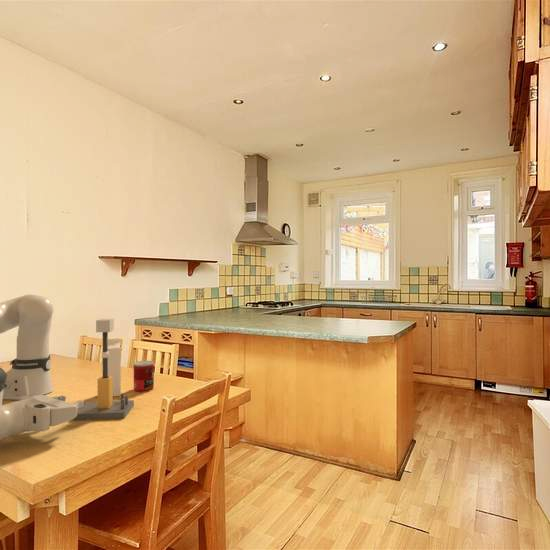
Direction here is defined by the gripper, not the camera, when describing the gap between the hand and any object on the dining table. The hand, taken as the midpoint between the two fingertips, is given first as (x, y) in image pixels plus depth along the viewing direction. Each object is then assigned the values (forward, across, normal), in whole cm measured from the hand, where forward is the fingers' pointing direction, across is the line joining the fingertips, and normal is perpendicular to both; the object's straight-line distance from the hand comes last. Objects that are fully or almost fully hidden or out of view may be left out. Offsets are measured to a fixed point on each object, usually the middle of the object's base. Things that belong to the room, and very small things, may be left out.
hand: (73, 400), depth 123 cm
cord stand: (+12, 0, -8) cm, 14 cm away
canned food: (+37, -10, -8) cm, 39 cm away
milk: (+25, -15, -8) cm, 31 cm away
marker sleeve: (+12, 0, -6) cm, 13 cm away
